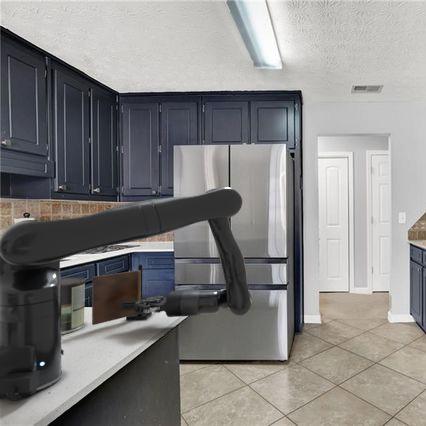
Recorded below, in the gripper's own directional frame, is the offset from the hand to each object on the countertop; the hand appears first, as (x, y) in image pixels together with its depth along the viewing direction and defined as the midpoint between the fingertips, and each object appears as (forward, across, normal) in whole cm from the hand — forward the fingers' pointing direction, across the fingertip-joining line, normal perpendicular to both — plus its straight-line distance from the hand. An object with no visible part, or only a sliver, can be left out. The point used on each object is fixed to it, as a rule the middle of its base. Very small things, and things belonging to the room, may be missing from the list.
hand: (122, 305), depth 88 cm
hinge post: (-1, -9, +7) cm, 11 cm away
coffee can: (+17, -3, +7) cm, 19 cm away
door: (+4, -5, +5) cm, 8 cm away
